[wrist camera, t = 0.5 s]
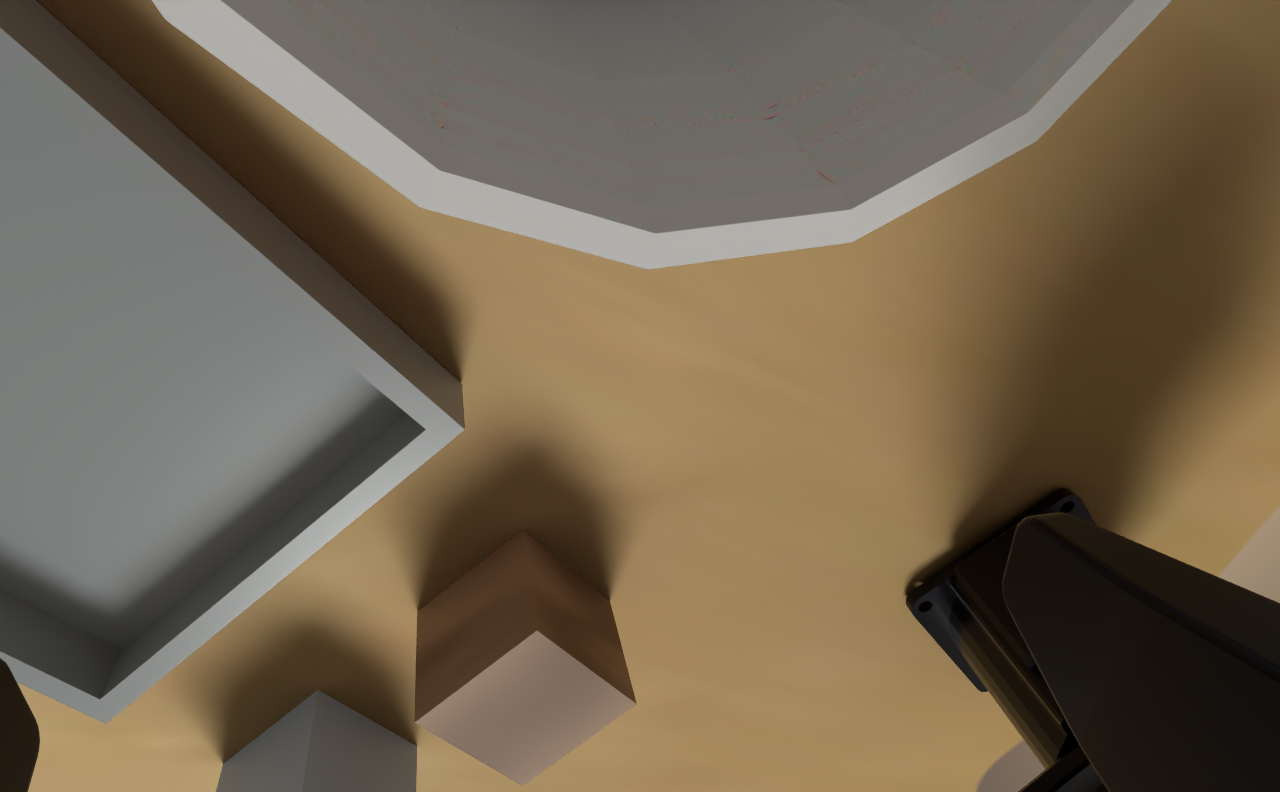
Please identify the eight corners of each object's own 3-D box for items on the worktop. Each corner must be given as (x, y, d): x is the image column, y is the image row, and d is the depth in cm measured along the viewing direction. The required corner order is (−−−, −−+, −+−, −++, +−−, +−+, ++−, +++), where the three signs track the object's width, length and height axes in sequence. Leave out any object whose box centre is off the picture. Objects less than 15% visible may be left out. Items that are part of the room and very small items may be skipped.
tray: (462, 384, 21) (464, 429, 19) (133, 657, 22) (106, 723, 21) (-17, -48, 15) (-83, -45, 13) (-413, 373, 16) (-521, 430, 15)
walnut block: (609, 599, 25) (636, 704, 22) (510, 673, 26) (522, 786, 23) (522, 527, 23) (537, 630, 20) (417, 609, 24) (414, 722, 21)
